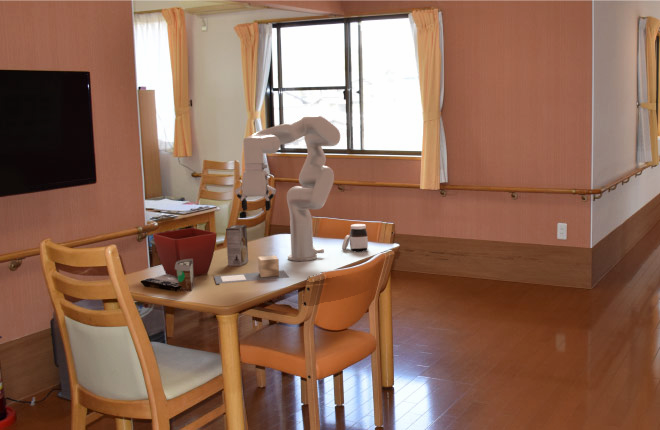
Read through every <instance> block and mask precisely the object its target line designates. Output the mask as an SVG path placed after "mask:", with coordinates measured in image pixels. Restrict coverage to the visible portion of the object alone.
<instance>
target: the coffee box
mask: <svg viewBox="0 0 660 430" xmlns="http://www.w3.org/2000/svg"><path fill="white" fill-rule="evenodd" d="M225 234H226V236H225V237H226V252H227V254H226V255H227V266H230V267H233V266H234V267H235V266H236V267H238V266H240V267H242V266H244V265H245V264H246V263H248V262H249V252H248V251H249V248H248V247H249V246H248V232H247V224H234V225H231V226H228V227H227V228H225Z"/></svg>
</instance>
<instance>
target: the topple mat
mask: <svg viewBox="0 0 660 430" xmlns="http://www.w3.org/2000/svg"><path fill="white" fill-rule="evenodd" d="M213 278H214V281H215V284H216V285H217V286H220V284H229V283H240V282H252V281H253V282H254V281H264V280H276V279H277V280H279V279H289V278H290V276H289V275H288V273H287V272H286V271H285V270H282V269H281V270H279V277H267V278H261V277H260V275H259V271H257V272H245V273H237V274H234V273H233V274H223V275H222V274H221V275H213Z"/></svg>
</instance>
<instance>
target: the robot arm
mask: <svg viewBox="0 0 660 430" xmlns="http://www.w3.org/2000/svg"><path fill="white" fill-rule="evenodd" d="M301 138H304V142H305V144H306V146H305V147H306V150H307V156H306V158H305V160H304V163H303V166H302V168H301V170H300V173H299V176H298V182H299V184H300V185H295V186H293V187H291V188H289V190H288V191H287V192H286V202H287V207H288V210H289V211H288V212H289V224H290V225H289V226H290V227H289V228H290V248H291V249H290V252H291V253H290V254H288V256H287V259H288V260H289V261H294V262H308V261H312V260H316V259H317V258H318V254H324V253H325V249H324V248H320V247H319V248H315V247H314V242H313V241H314V239H313V237H314V236H313V217H312V214H311V211H310V210H320V209H321V208H323V207H324V206H325V204H326V202H327V200H328V197H329V196H330V192H331V190H332V188H333V185H334V183H335V172H334V171H333V169H332V168H331V167H329V166H327V165H326V161H327V157H326V154H325V152H324V149H323V147H334V146H335V147H336V145H338V144H339V143H340V141H341V132H340V131H339V129H338V128H337V126H335V124H333V123H331V122H330V121H329V120H328V119H326V118H325V117H323V116H321V115H319V114H304V115H303V114H302V115H299V116H296V117H295V118H292V119H290V120H288V121H287V122H284V123H282V124H278V125H275V126H271V127H268V128H267V127H266V128H265V129H261V130H258V131H257V132H255V133H253V134H251V135H250V136H246V137H244V138H243V141H242V143H243V158H244V160H243V161H244V171H243V172H242V181H241V182H242V183H241V186H239V187H237V188H236V189H234V193H235V195H236V197H238V199H239V200H240V202H241V209H242V211H243V212H245V211H247V210H248V202H247V201H248V200H247V197H263V198H264V199H265V206H264V207H265V211H266V212H269V211H270V210H271V208H272V207H271V206H272V204H271V200H272V199H273V198H274V197H275V195H276V192H277V189H276V188H275V187H274V186H273V187H272V186H271V185H269V177H268V173H267V170H265V169H267V168H268V165H267V164H265V162H264V154H267V155H268V154H269V155H270V154H275V153H277V152H278V151H280V150H279V149H280V148H281V145H286V144H287V145H288V144H292V143H293V142H295V141H297V140H299V139H301ZM241 192H242V193H241ZM270 192H271V193H270Z"/></svg>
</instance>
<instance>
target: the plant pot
mask: <svg viewBox="0 0 660 430" xmlns="http://www.w3.org/2000/svg"><path fill="white" fill-rule="evenodd" d="M152 236H153V241H154V245H155V249H156V253H157V254H158V258H159V261H160V264H161V266H162V268H163V270H164V272H165V275H168V276H172V277H174V278H177V279H178V276H177V270H176V269H175V264H176V262H177V261H180V260H185V259H193V275H194V277H196V276H202V275H207V274H208V273H209V272H210V267H211V264H212V262H213V257H214V253H215V248H216V243H217V242H216V241H217V232H214V231H210V230H205V229H200V228H195V227H191V228H184V229H175V230H170V231H162V232H155V233H153V234H152Z"/></svg>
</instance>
